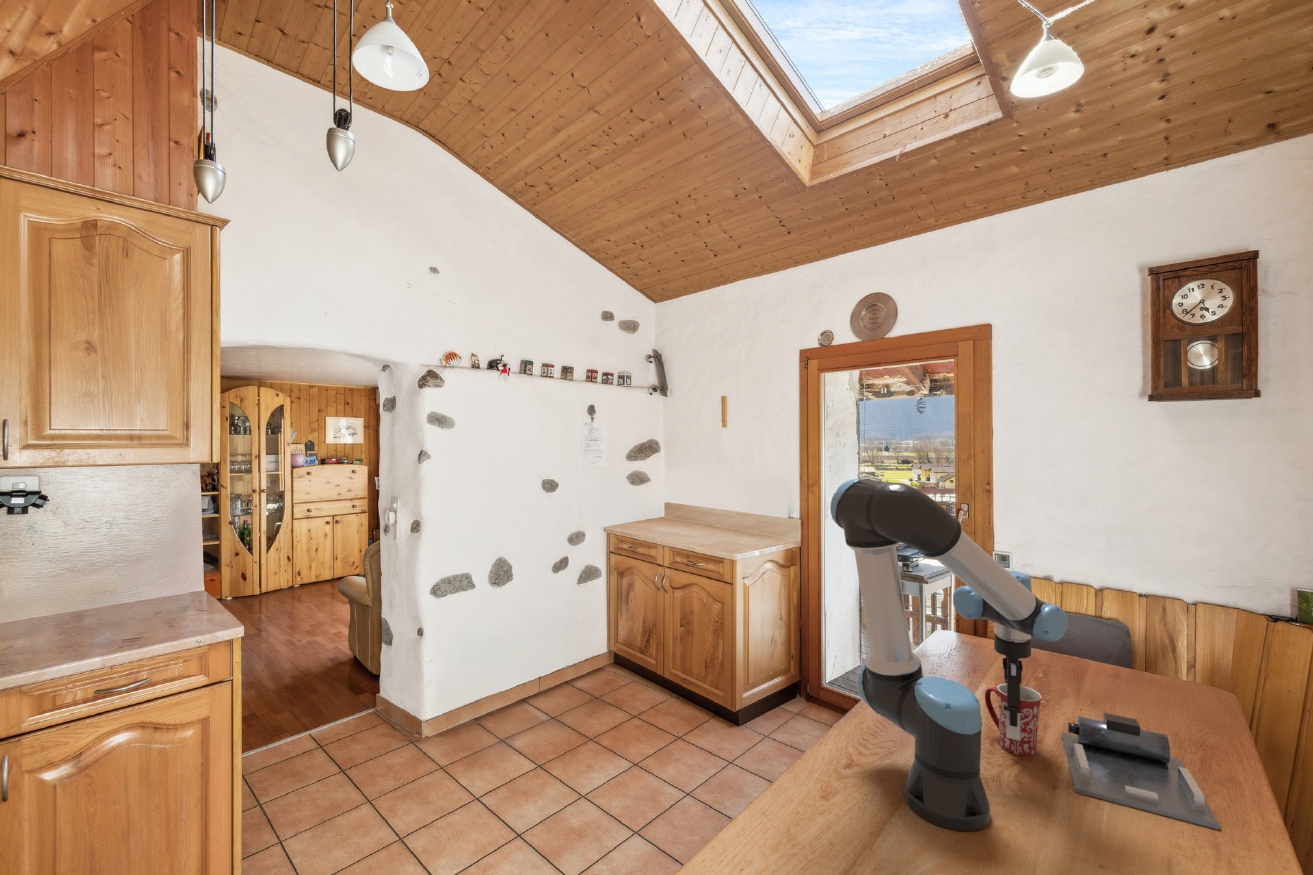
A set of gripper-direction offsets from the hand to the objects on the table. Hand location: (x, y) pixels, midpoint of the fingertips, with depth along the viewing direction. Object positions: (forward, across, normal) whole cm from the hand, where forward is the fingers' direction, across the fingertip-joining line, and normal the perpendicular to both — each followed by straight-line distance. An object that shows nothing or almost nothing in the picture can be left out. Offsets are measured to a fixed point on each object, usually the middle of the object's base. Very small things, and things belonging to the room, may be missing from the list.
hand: (1011, 725), depth 138 cm
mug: (+5, 0, 0) cm, 5 cm away
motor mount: (+5, -2, -22) cm, 22 cm away
